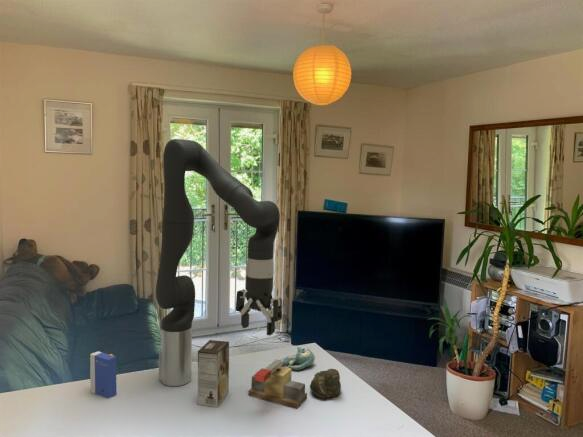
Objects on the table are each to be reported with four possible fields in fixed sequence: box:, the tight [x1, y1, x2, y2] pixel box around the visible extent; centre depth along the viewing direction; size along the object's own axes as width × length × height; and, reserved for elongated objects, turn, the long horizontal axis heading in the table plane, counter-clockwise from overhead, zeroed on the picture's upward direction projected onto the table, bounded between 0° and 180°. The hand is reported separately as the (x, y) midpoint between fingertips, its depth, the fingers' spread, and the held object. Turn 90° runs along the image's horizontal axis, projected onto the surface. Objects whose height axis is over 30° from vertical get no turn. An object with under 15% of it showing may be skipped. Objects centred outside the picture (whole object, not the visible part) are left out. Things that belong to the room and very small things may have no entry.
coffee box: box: [197, 339, 230, 408], centre depth 130 cm, size 9×6×16 cm
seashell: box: [309, 368, 342, 399], centre depth 136 cm, size 11×12×10 cm
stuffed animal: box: [279, 346, 315, 371], centre depth 155 cm, size 11×7×12 cm
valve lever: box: [254, 359, 283, 382], centre depth 127 cm, size 12×3×3 cm, turn 155°
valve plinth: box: [247, 365, 308, 410], centre depth 132 cm, size 16×7×8 cm, turn 65°
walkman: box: [89, 351, 117, 399], centre depth 131 cm, size 8×3×12 cm, turn 63°
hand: (257, 330), depth 124 cm, fingers open, 8 cm apart
